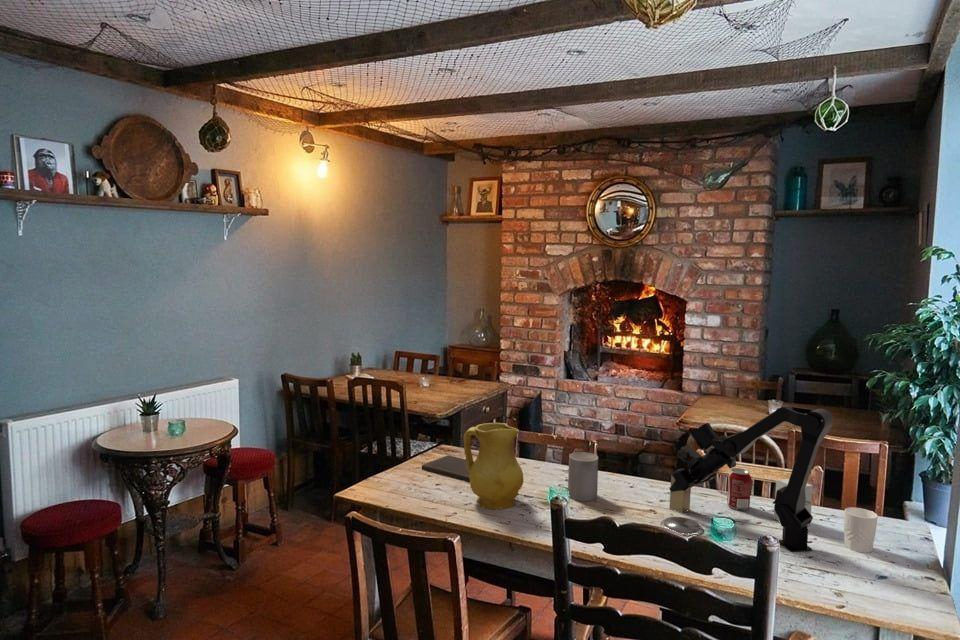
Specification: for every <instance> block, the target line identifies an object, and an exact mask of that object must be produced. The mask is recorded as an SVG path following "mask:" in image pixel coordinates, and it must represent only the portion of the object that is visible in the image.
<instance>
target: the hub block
mask: <svg viewBox="0 0 960 640" xmlns="http://www.w3.org/2000/svg"><path fill="white" fill-rule="evenodd" d="M674 481H675V479H674V477H673V476H672V474H671V475H670V487H671V486H672V484H673V483H674ZM691 490H692V489H691V488H690V489H688V490H686V491H683V490H682V491H675V492H671V491H670V490H669V491H670V492H669V510H671V509H672V511H674V510H676V511H675V512H677V511H679V512H678V513H680V512H682V513H681V514H683V512H684V513H685V511H686V512H688V511H689V509H690V507H691V495H692V491H691ZM687 510H688V511H687Z"/></svg>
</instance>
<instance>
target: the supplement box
mask: <svg viewBox="0 0 960 640" xmlns="http://www.w3.org/2000/svg"><path fill="white" fill-rule="evenodd" d="M789 479H790V478H783V479H781V478H780V479H776V485H775V493H774V494H775V495H774V496H775V497H774V500H775V499H776V493H777V490H779V489H781V488H783V487H785V486H787V485H788V482H789ZM813 491H814V485H813V484H810V483H808V482H807V484H806V487H805V496H806V501H805V508H806V509H807V510H808V512H809V513H810V514H811V515H812V502H813ZM773 511H774V512H773V520H775V519H776V520H775V521H777V520H778V521H777V522H779V521H780V520H779V516H778V515H777V514H776V512H775V510H774V509H773ZM810 526H811V523H810V524H808V525H807V527H810Z"/></svg>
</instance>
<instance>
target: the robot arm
mask: <svg viewBox="0 0 960 640" xmlns="http://www.w3.org/2000/svg"><path fill="white" fill-rule="evenodd" d="M834 420H835V418H834V417H833V415H832V413H831V412H830V411H829V410H827V409H825V408H817V409H816V408H815V409H812V408H807V407H796V406H793V405H789V404H788V405H787V404H784V405H781V406H779V407H778V408H776V409H775V410H774V411H773V412H771V413H770V414H768V415H767V416H765V417H763V418H762V419H760V420H759V421H757V422H756V423H754V424H753V425H751V426H749V427H748V428H746V429H745V430H742V431H740V432H737V433H735V434H732V435H730V436H729V435H728V436H727V435H726V436H725V435H722V436H718V434H717V433H716V432H715V430H714V429H713V428H712V426H711V424H710V422H706V423H704V424H701V426H699V427H697V428H694V429H693V430H692V431H691V432H690V433H689V435H690V438H691V439H692V440H693V441H694V442H695V444H696V445H697V447H698V448H699V449H700V450H701V451H703V450H704V451H706V452H707V451H708V452H707V453H705V454H703V455H701V454H700V453H699V452H698V451H697V450H695V449H694V448H693V447H692V446H691V445H684V446H681V448H680V449H679V450H677V451H676V452H677V458H679V459H680V460H682V461H683V462H684V463H687V464H686V467H687V468H688V469H689V470H688V471H687V469H686V468H683V467H681V468H678V469H676V470H674V471H673V472H672V473H671V475H672V476H673V477H674V479H675V481H674V483H673V484H672V486H671V485H670V487H669V491H671V492H675V491H682V490H683V491H686V490H688V489H690V488H693V487H694V486H695V485H699V484H703V483H707V482H708V481H711V480H713V479H714V478H715V477H717V476H718V475H717V474H718V472H719V470H720V469H722V468H723V467H725V466H727V468H729V469H733V468H736V466H737V458H736V457H737V456H739V455H742V454H744V453H746V452H747V451H748V450H750V448H751V447H752V446H753V445H754V444H755V442H756V441H757V440H758V439H760V438H762V437H764V436H766V435H767V434H768V433H770V432H772V431H773V430H775V429H776V428H778V427H779V426H781V425H782V424H784V423H790V424H791V425H794V426H795V427H800V433H801V442H800V444H799V448H798V451H797V453H796V454H797V455H796V457H795V460H794V464H793V466H792V470H791V473H790V476H789V478H788V479H789V482H788V485H787V486H785V487H783V488H781V489H779V490H777V493H776V492H775V494H776V499H775V498H774V500H773V502H772V505H774V508H773V511H774V510H775V512H776V514H777V515H778V516H779V520H780V522H779V523H780V526H781V527H782V537H781V538H782V539H778V540H779V542H780V543H779V545H781V546H783V547H784V548H785V549H787V550H788V551H790V552H811V551H813V548H811V547H810V546H809V545H808V538H809V528H808V526H807V525H808V524H810V525H811V523H812V521H813V520H814V517H813V515H812V513H811V514H810V513H809V512H808V510H807V509H806V508H805V501H806V496H805V487H806V484H807V483H808V480H809V477H810V475H811V472H812V469H813V466H814V462H815V459H816V456H817V454H818V450H819V448H820V445H821V443H822V442H823V440H824V439H825V437H826V436H827V435H828V433H829V431H830V430H831V428H832V426H833V424H834V423H835V422H834Z"/></svg>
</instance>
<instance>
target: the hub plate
mask: <svg viewBox="0 0 960 640" xmlns="http://www.w3.org/2000/svg"><path fill="white" fill-rule="evenodd" d="M660 524H661V525H660ZM660 524H659V525H660V527H661V526H662V525H663V527H665V528H668V529H671V530H674V531H676V532H678V533H680V534H682V533H684V534H682V535H685V537H687V536H686V535H688V533H689V534H692V533H698V534H700V535H702V534H703V532H704V528H703V526H702V525H701V524H700V523H699V522H697V521H696V520H693V519H691V518H688V517H682V516H671V517H667V518H665V519H662V520H661V521H660ZM698 534H692V535H696V536H699V535H698ZM682 535H681V536H682Z"/></svg>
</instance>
